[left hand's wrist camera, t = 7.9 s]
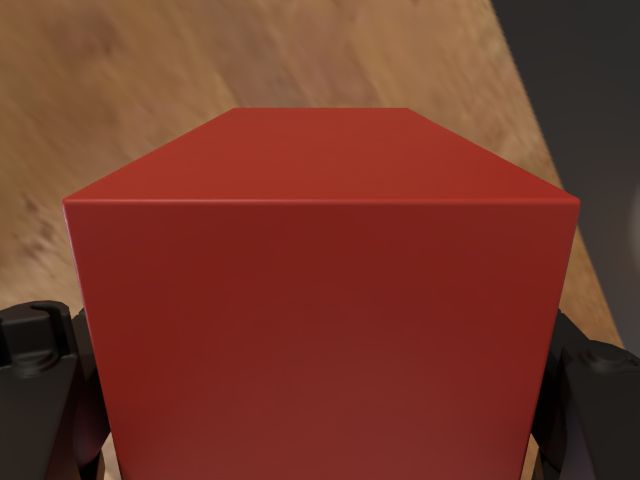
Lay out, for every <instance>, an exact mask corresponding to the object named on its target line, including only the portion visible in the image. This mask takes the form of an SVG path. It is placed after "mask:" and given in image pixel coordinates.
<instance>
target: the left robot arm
mask: <svg viewBox="0 0 640 480" xmlns="http://www.w3.org/2000/svg"><path fill="white" fill-rule="evenodd" d="M110 432H111V429H110V424H109V420H108V415H107V410H106V406H105V401H104V397H103V392H102V387H101V383H100V378H99V374H98V369H97V365H96V360H95V355H94V351H93V346H92V342H91V337H90V332H89V328H88V323H87V319H86V314H85V310H84V308H83V309H82V310H81V311H80V312H79V315H76V316H75V317H74V318H73V319H72V320H71V315H70V311H69V307H68V306H67V305H65V304H64V303H62V302H57V301H51V300H46V301H33V302H28V303H23V304H18V305H15V306H12V307H9V308H6V309H4V310H1V311H0V480H104V473H105V463H104V457H103V453H102V449H101V448H102V446H103V444H104V442H105V441H106V439H107V437H108V435H109V434H110ZM531 434H532V435H533V437H534V439H535V441H536V442H537V444H538V446H539V449H538V453H537V457H536V462H535V466H534V470H533V475H532V479H531V480H640V359H639V358H638V357H636V356H635V355H633V354H631V353H630V352H628V351H626V350H624V349H621V348H619V347H617V346H614V345H612V344H608V343H604V342H600V341H596V340H589V339H588V338H587V337H586V336H585V335H584V334H583V333H582V332H581V331H580V330H579V329H578V328H577V327H576V326H575V325H574V323H573V322H572V321H571V320H570V319H569V318H568V317H567V316H566V315H565V314H564V313H561V310H560V309H559V308H558V311H557V316H556V320H555V325H554V329H553V334H552V338H551V343H550V347H549V352H548V356H547V361H546V366H545V370H544V375H543V379H542V384H541V388H540V393H539V397H538V402H537V406H536V411H535V415H534V420H533V425H532V429H531Z"/></svg>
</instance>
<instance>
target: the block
mask: <svg viewBox="0 0 640 480" xmlns="http://www.w3.org/2000/svg"><path fill="white" fill-rule="evenodd" d="M580 207H581V203H580V200H579V199H578V198H576V197H574V196H572V195H570V194H569V193H567V192H565V191H563V190H561V189H559V188H557V187H555V186H553V185H552V184H550V183H548V182H546V181H544V180H542V179H540V178H538V177H536V176H535V175H533V174H531V173H529V172H527V171H525V170H523V169H521V168H519V167H517V166H516V165H514V164H512V163H510V162H508V161H506V160H504V159H502V158H500V157H499V156H497V155H495V154H493V153H491V152H489V151H487V150H485V149H483V148H482V147H480V146H478V145H476V144H474V143H472V142H470V141H468V140H466V139H464V138H463V137H461V136H459V135H457V134H455V133H453V132H451V131H449V130H447V129H446V128H444V127H442V126H440V125H438V124H436V123H434V122H432V121H430V120H429V119H427V118H425V117H423V116H421V115H419V114H417V113H415V112H413V111H411V110H410V109H408V108H233V109H231V110H229V111H228V112H226V113H224V114H222V115H220V116H218V117H216V118H214V119H213V120H211V121H209V122H207V123H205V124H203V125H201V126H199V127H198V128H196V129H194V130H192V131H190V132H188V133H186V134H184V135H183V136H181V137H179V138H177V139H175V140H173V141H171V142H169V143H168V144H166V145H164V146H162V147H160V148H158V149H156V150H154V151H153V152H151V153H149V154H147V155H145V156H143V157H141V158H139V159H138V160H136V161H134V162H132V163H130V164H128V165H126V166H124V167H123V168H121V169H119V170H117V171H115V172H113V173H111V174H109V175H108V176H106V177H104V178H102V179H100V180H98V181H96V182H94V183H93V184H91V185H89V186H87V187H85V188H83V189H81V190H79V191H78V192H76V193H74V194H72V195H70V196H68V197H66V198H64V199H63V201H62V209H63V213H64V218H65V222H66V227H67V232H68V236H69V241H70V245H71V250H72V255H73V259H74V264H75V268H76V273H77V277H78V282H79V287H80V291H81V296H82V300H83V305H84V310H85V314H86V319H87V323H88V328H89V332H90V337H91V342H92V346H93V351H94V355H95V360H96V365H97V369H98V374H99V378H100V383H101V387H102V392H103V397H104V401H105V406H106V410H107V415H108V420H109V424H110V429H111V433H112V438H113V442H114V447H115V452H116V456H117V461H118V465H119V470H120V475H121V479H122V480H520V479H521V474H522V470H523V465H524V461H525V456H526V452H527V447H528V443H529V438H530V434H531V429H532V425H533V420H534V415H535V411H536V406H537V402H538V397H539V393H540V388H541V384H542V379H543V375H544V370H545V366H546V361H547V356H548V352H549V347H550V343H551V338H552V334H553V329H554V325H555V320H556V316H557V311H558V307H559V302H560V297H561V293H562V288H563V284H564V279H565V275H566V270H567V266H568V261H569V257H570V252H571V248H572V243H573V238H574V234H575V229H576V225H577V220H578V216H579V211H580Z"/></svg>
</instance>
